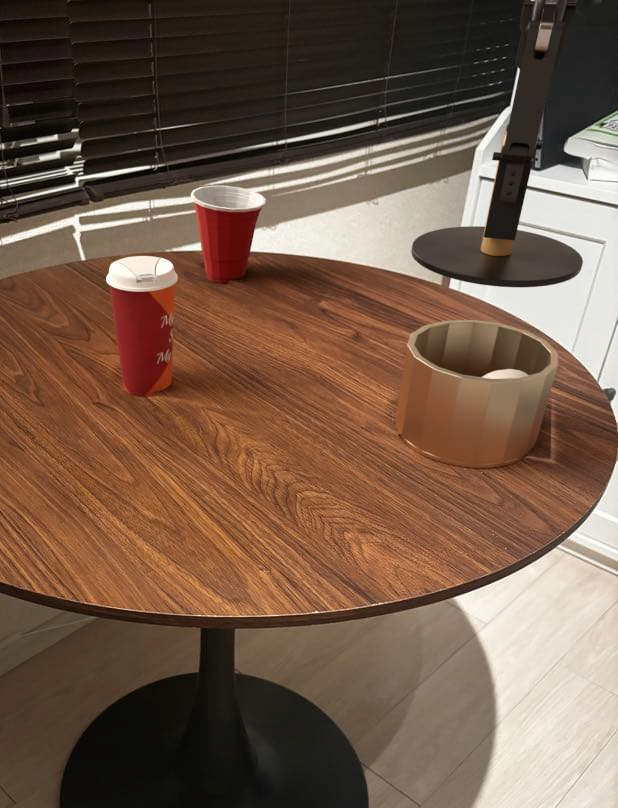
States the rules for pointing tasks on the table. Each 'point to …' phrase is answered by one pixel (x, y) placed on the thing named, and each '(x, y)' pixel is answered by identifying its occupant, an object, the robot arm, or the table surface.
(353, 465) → the table surface
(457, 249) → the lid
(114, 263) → the paper cup
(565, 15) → the robot arm
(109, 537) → the table surface
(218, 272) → the plastic cup
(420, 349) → the pot
